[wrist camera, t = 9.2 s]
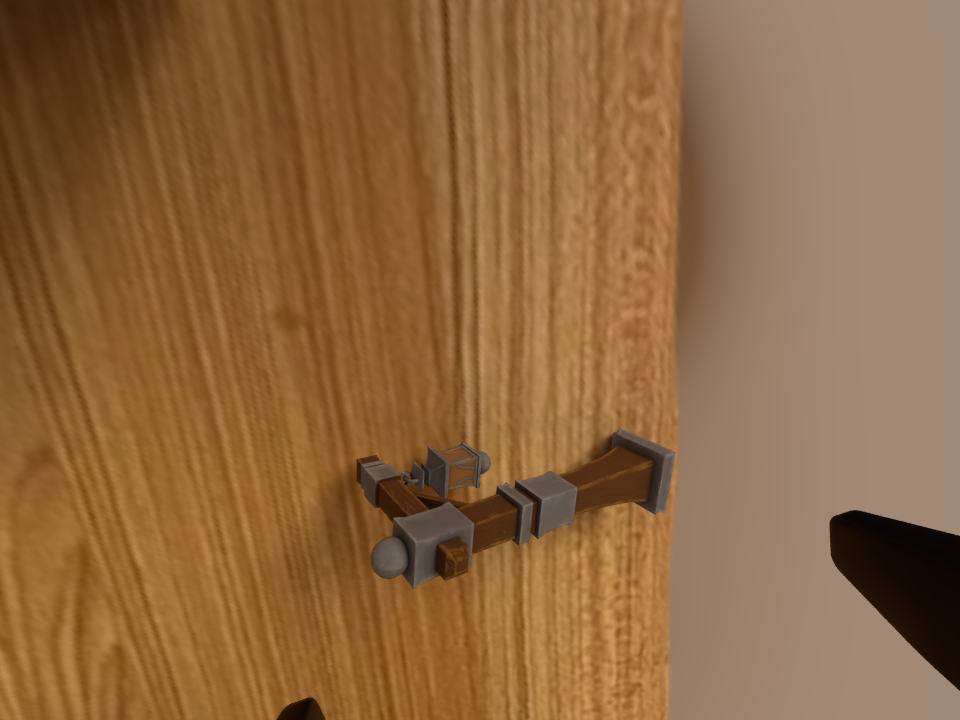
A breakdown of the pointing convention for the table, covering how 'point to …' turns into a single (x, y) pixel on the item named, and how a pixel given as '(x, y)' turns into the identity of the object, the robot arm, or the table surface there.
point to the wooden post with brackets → (499, 503)
